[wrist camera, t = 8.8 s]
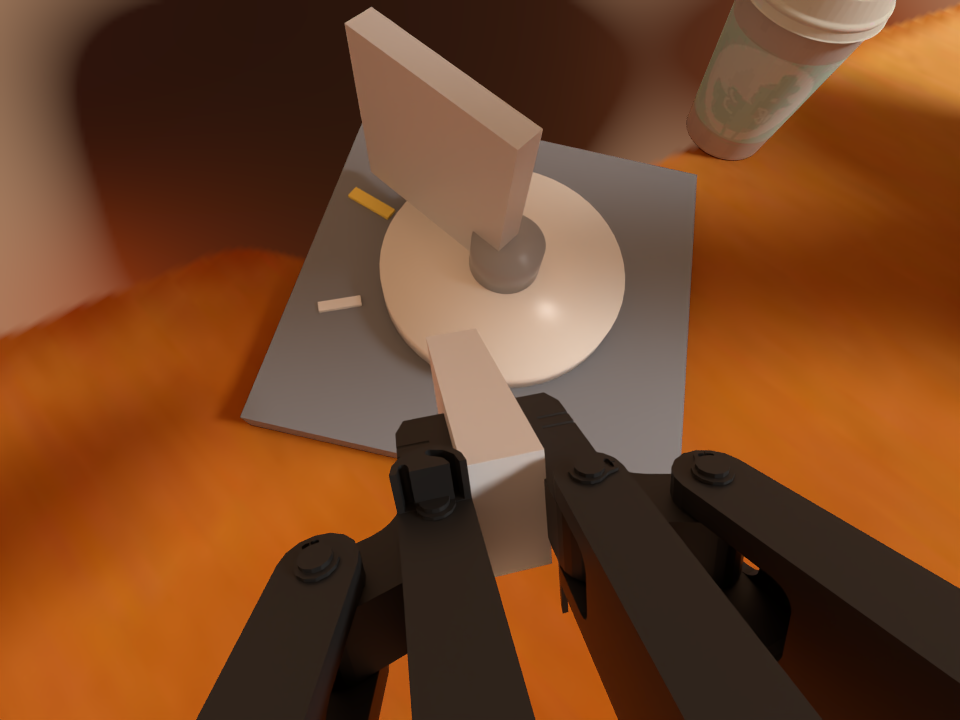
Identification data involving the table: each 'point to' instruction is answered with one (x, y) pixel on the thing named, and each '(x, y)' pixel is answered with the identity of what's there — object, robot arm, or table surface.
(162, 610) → the table surface
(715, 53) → the coffee cup
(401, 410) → the dial plate
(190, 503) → the table surface
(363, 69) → the dial
